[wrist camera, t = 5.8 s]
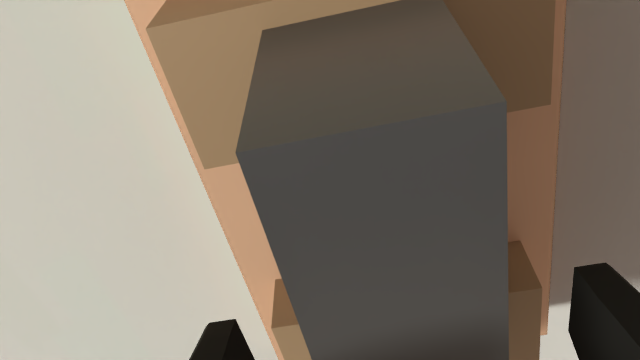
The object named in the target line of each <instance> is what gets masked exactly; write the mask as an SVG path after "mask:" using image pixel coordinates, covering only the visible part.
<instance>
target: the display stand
mask: <svg viewBox="0 0 640 360" xmlns="http://www.w3.org/2000/svg"><path fill="white" fill-rule="evenodd" d="M124 1H125V3H126V6H127V8H128V10H129V13H130V15H131V17H132V20H133V22H134V24H135V27H136V29H137V31H138V34H139V36H140V38H141V41H142V43H143V45H144V48H145V50H146V52H147V54H148V57H149V59H150V61H151V64H152V66H153V68H154V71H155V73H156V75H157V78H158V80H159V82H160V85H161V87H162V89H163V92H164V94H165V96H166V99H167V101H168V103H169V106H170V108H171V110H172V113H173V115H174V117H175V120H176V122H177V124H178V127H179V129H180V131H181V134H182V136H183V138H184V141H185V143H186V145H187V147H188V150H189V152H190V154H191V157H192V159H193V161H194V164H195V166H196V168H197V171H198V173H199V175H200V178H201V180H202V182H203V185H204V187H205V189H206V192H207V194H208V196H209V199H210V201H211V203H212V206H213V208H214V210H215V213H216V215H217V217H218V220H219V222H220V224H221V227H222V229H223V231H224V234H225V236H226V238H227V240H228V243H229V245H230V247H231V250H232V252H233V254H234V257H235V259H236V261H237V264H238V266H239V268H240V271H241V273H242V275H243V278H244V280H245V282H246V285H247V287H248V289H249V292H250V294H251V296H252V299H253V301H254V303H255V306H256V308H257V310H258V313H259V315H260V317H261V320H262V322H263V324H264V327H265V329H266V331H267V333H268V336H269V338H270V340H271V343H272V345H273V347H274V350H275V352H276V354H277V357H278V359H279V360H312V359H311V356H310V353H309V351H308V348H307V345H306V343H305V340H304V337H303V335H302V332H301V329H300V326H299V324H298V321H297V318H296V316H295V313H294V310H293V307H292V305H291V302H290V299H289V297H288V294H287V291H286V289H285V286H284V283H283V280H282V278H281V275H280V272H279V270H278V267H277V264H276V261H275V259H274V256H273V253H272V251H271V248H270V245H269V243H268V240H267V237H266V234H265V232H264V229H263V226H262V224H261V221H260V218H259V215H258V213H257V210H256V207H255V205H254V202H253V199H252V197H251V194H250V191H249V188H248V186H247V183H246V180H245V178H244V175H243V172H242V169H241V167H240V164H239V161H238V159H237V156H236V153H235V152H236V147H237V143H238V138H239V134H240V129H241V125H242V120H243V116H244V111H245V106H246V102H247V97H248V93H249V88H250V84H251V79H252V75H253V70H254V65H255V61H256V56H257V52H258V47H259V43H260V38H261V34H262V30H265V29H270V28H275V27H279V26H284V25H288V24H293V23H298V22H302V21H307V20H312V19H316V18H321V17H325V16H330V15H335V14H339V13H344V12H348V11H353V10H358V9H362V8H367V7H371V6H376V5H381V4H385V3H390V2H395V1H399V0H124ZM443 1H444V3H445V5H446V6H447V8H448V9H449V11H450V12H451V14H452V16H453V17H454V19H455V20H456V22H457V24H458V25H459V27H460V28H461V30H462V31H463V33H464V35H465V36H466V38H467V39H468V41H469V43H470V44H471V46H472V47H473V49H474V50H475V52H476V54H477V55H478V57H479V58H480V60H481V61H482V63H483V65H484V66H485V68H486V69H487V71H488V73H489V74H490V76H491V77H492V79H493V80H494V82H495V84H496V85H497V87H498V88H499V90H500V92H501V93H502V95H503V96H504V98H505V99H506V101H507V198H508V306H509V360H539V351H540V335H546V334H547V327H548V310H549V293H550V275H551V258H552V241H553V223H554V206H555V189H556V171H557V154H558V137H559V119H560V102H561V85H562V67H563V50H564V33H565V15H566V0H443Z"/></svg>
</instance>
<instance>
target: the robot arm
mask: <svg viewBox="0 0 640 360" xmlns="http://www.w3.org/2000/svg"><path fill="white" fill-rule="evenodd" d="M568 331H569V334H570V336H571V339H572V342H573V344H574V347H575V350H576V353H577V355H578V358H579V360H640V293H639V292H638V291H637V290H636V289H635V288H634V287H633V286H632V285H631V284H630V283H628V282H627V281H626V280H625V279H624V278H623V277H622V276H621V275H620V274H619V273H618V272H617V271H615V270H614V269H613V268H612V267H611V266H610V265H608V264H607V263H600V264H593V265H587V266H580V267H574V277H573V287H572V298H571V308H570V319H569V330H568ZM189 360H255V359H254V357H253V355H252V353H251V351H250V349H249V347H248V345H247V342H246V340H245V338H244V336H243V334H242V332H241V330H240V328H239V326H238V323H237V321H236V319H232V320H225V321H219V322H212V323H209V324H208V325H207V326H206V328H205V330H204V332H203V334H202V336H201V338H200V340H199V342H198V344H197V346H196V348H195V350H194V352H193V353H192V355H191V357H190V359H189Z"/></svg>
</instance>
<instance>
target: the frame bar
mask: <svg viewBox="0 0 640 360" xmlns="http://www.w3.org/2000/svg"><path fill="white" fill-rule="evenodd" d="M235 153H236V156H237V159H238V161H239V164H240V167H241V169H242V172H243V175H244V178H245V180H246V183H247V186H248V188H249V191H250V194H251V197H252V199H253V202H254V205H255V207H256V210H257V213H258V215H259V218H260V221H261V224H262V226H263V229H264V232H265V234H266V237H267V240H268V243H269V245H270V248H271V251H272V253H273V256H274V259H275V261H276V264H277V267H278V270H279V272H280V275H281V278H282V280H283V283H284V286H285V289H286V291H287V294H288V297H289V299H290V302H291V305H292V307H293V310H294V313H295V316H296V318H297V321H298V324H299V326H300V329H301V332H302V335H303V337H304V340H305V343H306V345H307V348H308V351H309V353H310V356H311V359H312V360H509V306H508V198H507V101H506V99H505V98H504V96H503V95H502V93H501V92H500V90H499V88H498V87H497V85H496V84H495V82H494V80H493V79H492V77H491V76H490V74H489V73H488V71H487V69H486V68H485V66H484V65H483V63H482V61H481V60H480V58H479V57H478V55H477V54H476V52H475V50H474V49H473V47H472V46H471V44H470V43H469V41H468V39H467V38H466V36H465V35H464V33H463V31H462V30H461V28H460V27H459V25H458V24H457V22H456V20H455V19H454V17H453V16H452V14H451V12H450V11H449V9H448V8H447V6H446V5H445V3H444V1H443V0H399V1H395V2H390V3H385V4H381V5H376V6H371V7H367V8H362V9H358V10H353V11H348V12H344V13H339V14H335V15H330V16H325V17H321V18H316V19H312V20H307V21H302V22H298V23H293V24H288V25H284V26H279V27H275V28H270V29H265V30H262V34H261V38H260V43H259V47H258V52H257V56H256V61H255V65H254V70H253V75H252V79H251V84H250V88H249V93H248V97H247V102H246V106H245V111H244V116H243V120H242V125H241V129H240V134H239V138H238V143H237V147H236V152H235Z"/></svg>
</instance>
